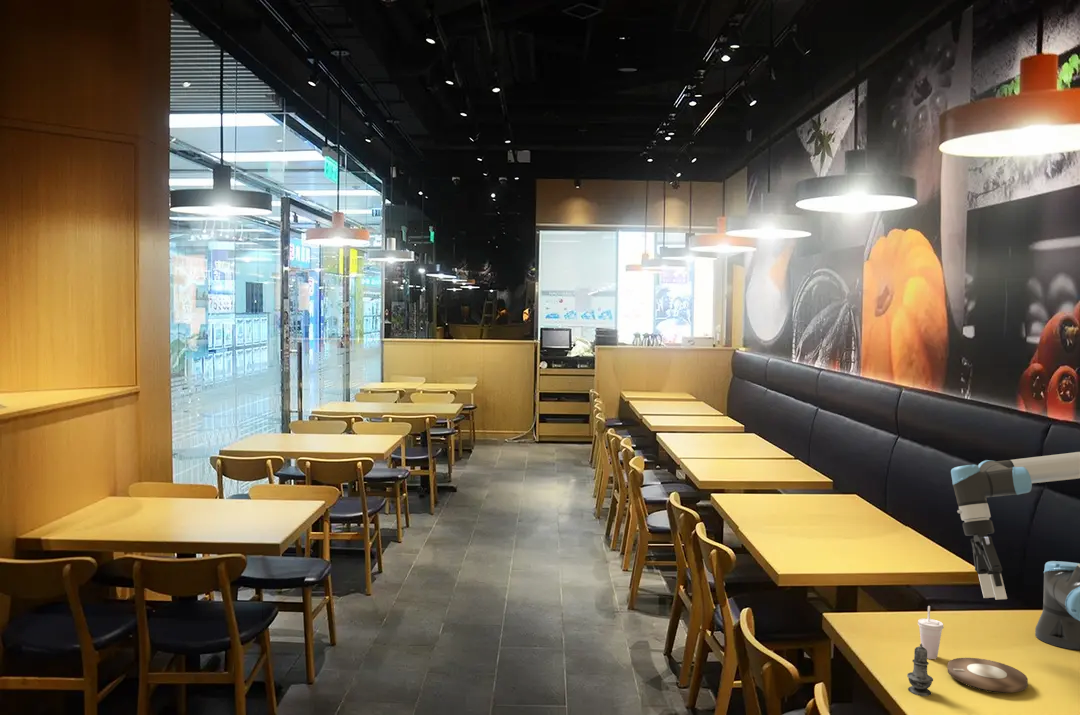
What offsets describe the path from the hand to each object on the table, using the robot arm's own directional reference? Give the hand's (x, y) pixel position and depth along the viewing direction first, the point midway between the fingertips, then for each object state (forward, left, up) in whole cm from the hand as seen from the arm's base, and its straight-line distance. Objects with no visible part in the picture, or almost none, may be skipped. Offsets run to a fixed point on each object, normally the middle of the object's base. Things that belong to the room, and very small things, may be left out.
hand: (995, 598), depth 221 cm
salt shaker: (+29, +24, -17) cm, 41 cm away
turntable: (+9, +16, -16) cm, 24 cm away
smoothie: (+17, +1, -17) cm, 24 cm away
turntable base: (+9, +16, -17) cm, 25 cm away
